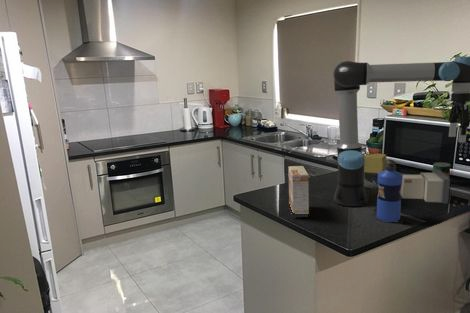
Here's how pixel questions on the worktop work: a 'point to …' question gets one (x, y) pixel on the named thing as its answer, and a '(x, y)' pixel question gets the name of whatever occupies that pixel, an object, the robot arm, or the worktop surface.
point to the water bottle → (389, 193)
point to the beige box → (412, 186)
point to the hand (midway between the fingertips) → (456, 139)
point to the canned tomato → (442, 168)
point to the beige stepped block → (436, 187)
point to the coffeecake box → (298, 190)
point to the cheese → (375, 163)
